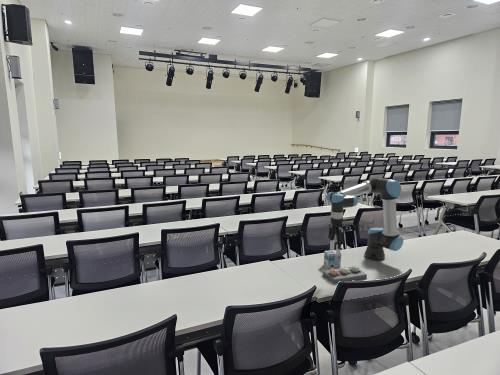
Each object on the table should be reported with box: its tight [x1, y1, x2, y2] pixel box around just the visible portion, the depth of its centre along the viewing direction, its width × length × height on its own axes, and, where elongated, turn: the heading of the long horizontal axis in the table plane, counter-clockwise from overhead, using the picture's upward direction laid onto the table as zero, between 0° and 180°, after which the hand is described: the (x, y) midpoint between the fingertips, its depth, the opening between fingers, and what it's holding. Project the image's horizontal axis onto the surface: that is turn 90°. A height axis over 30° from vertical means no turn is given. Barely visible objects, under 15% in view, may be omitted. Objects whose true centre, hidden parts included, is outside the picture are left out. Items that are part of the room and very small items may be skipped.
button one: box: [351, 264, 360, 273], centre depth 223 cm, size 5×5×3 cm
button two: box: [340, 266, 349, 274], centre depth 220 cm, size 5×5×3 cm
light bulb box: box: [323, 249, 342, 269], centre depth 238 cm, size 11×7×11 cm, turn 105°
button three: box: [329, 268, 338, 276], centre depth 217 cm, size 5×5×3 cm
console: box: [322, 266, 368, 285], centre depth 220 cm, size 25×14×3 cm, turn 109°
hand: (335, 251), depth 215 cm, fingers open, 6 cm apart
